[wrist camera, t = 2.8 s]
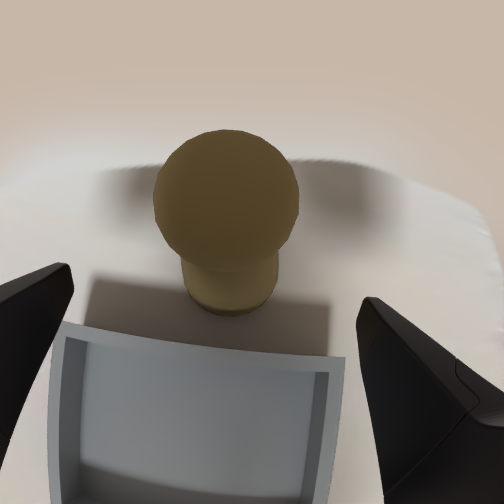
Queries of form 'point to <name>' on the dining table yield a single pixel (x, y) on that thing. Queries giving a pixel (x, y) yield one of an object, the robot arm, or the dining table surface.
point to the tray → (188, 422)
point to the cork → (227, 217)
